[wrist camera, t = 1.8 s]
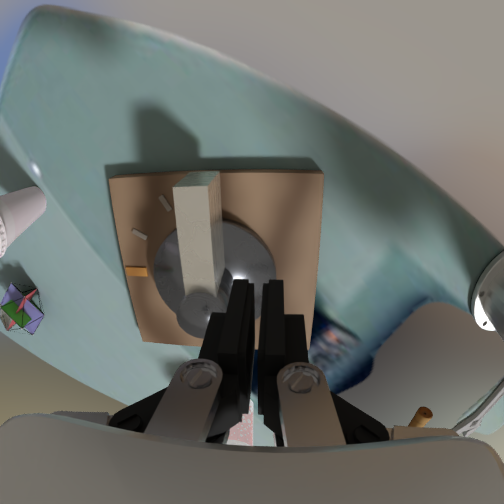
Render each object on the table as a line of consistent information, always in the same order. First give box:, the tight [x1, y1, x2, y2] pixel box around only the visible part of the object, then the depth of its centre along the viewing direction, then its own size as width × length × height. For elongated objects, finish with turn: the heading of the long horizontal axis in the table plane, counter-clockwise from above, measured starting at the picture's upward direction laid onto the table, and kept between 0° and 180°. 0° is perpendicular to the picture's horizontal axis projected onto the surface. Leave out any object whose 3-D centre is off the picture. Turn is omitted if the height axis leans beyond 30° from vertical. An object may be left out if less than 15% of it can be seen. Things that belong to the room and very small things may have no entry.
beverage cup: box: [227, 400, 253, 446], centre depth 37 cm, size 6×6×14 cm
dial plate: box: [109, 169, 324, 350], centre depth 33 cm, size 20×20×2 cm
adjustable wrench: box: [451, 381, 504, 437], centre depth 42 cm, size 25×6×2 cm, turn 160°
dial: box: [153, 171, 276, 339], centre depth 28 cm, size 16×12×7 cm
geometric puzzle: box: [0, 283, 45, 335], centre depth 35 cm, size 7×7×8 cm
